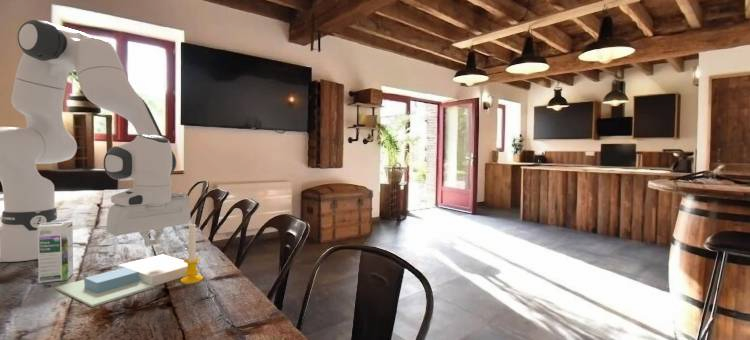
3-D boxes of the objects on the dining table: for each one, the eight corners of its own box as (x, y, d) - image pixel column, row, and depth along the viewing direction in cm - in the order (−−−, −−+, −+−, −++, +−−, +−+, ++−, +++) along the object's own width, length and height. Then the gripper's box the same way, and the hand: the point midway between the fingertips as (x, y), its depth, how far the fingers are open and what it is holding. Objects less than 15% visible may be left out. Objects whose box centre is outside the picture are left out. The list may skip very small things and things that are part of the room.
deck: (118, 273, 96) (118, 264, 95) (162, 262, 106) (162, 254, 106) (151, 286, 88) (151, 276, 88) (196, 272, 98) (196, 263, 98)
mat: (55, 288, 85) (55, 286, 85) (116, 273, 96) (116, 271, 96) (92, 307, 76) (92, 304, 76) (154, 287, 87) (154, 285, 87)
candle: (203, 275, 96) (203, 219, 96) (202, 282, 92) (203, 223, 91) (181, 278, 94) (181, 220, 93) (180, 285, 90) (180, 224, 89)
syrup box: (37, 284, 87) (36, 226, 86) (46, 276, 92) (45, 221, 92) (67, 280, 90) (66, 224, 89) (74, 273, 95) (73, 220, 94)
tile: (84, 288, 85) (84, 277, 84) (125, 276, 92) (125, 267, 92) (97, 293, 82) (97, 283, 82) (138, 281, 90) (138, 271, 89)
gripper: (182, 190, 106) (181, 236, 107) (103, 197, 88) (103, 251, 89) (195, 193, 103) (194, 239, 104) (116, 200, 85) (115, 256, 86)
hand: (151, 245), depth 96 cm, fingers closed
